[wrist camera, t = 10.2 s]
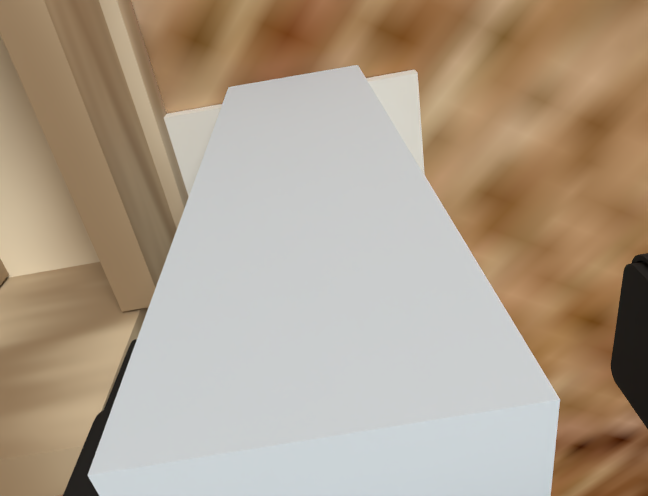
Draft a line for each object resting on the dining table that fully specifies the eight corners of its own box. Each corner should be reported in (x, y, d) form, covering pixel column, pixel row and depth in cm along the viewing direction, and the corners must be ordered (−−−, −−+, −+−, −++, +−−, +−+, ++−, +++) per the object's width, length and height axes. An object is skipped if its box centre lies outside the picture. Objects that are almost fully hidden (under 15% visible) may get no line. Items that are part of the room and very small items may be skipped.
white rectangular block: (357, 64, 14) (560, 399, 4) (388, 327, 19) (519, 806, 8) (228, 87, 14) (88, 474, 4) (290, 343, 19) (299, 839, 8)
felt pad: (414, 69, 15) (417, 72, 14) (430, 301, 19) (433, 307, 18) (166, 114, 15) (163, 117, 15) (235, 334, 19) (234, 341, 19)
